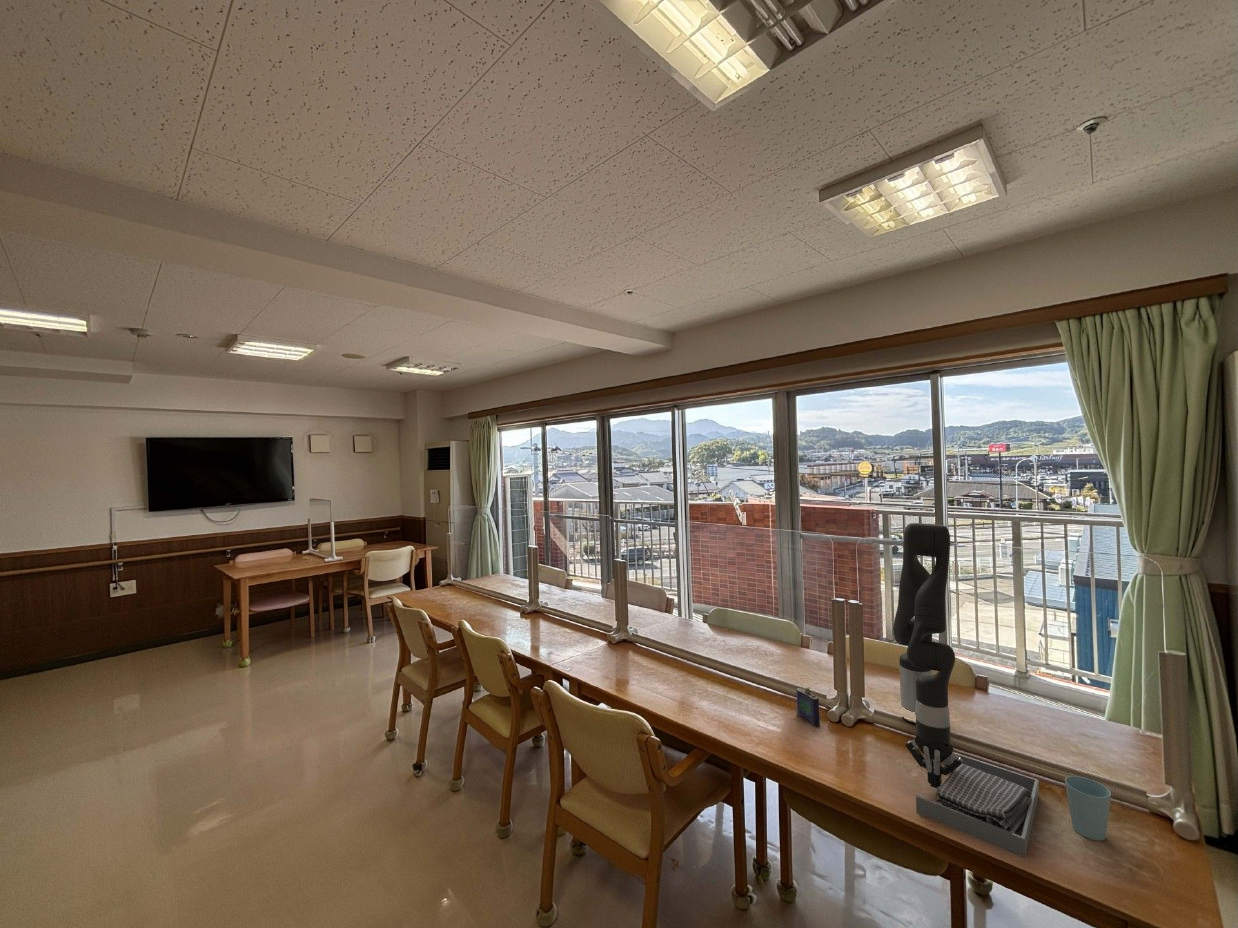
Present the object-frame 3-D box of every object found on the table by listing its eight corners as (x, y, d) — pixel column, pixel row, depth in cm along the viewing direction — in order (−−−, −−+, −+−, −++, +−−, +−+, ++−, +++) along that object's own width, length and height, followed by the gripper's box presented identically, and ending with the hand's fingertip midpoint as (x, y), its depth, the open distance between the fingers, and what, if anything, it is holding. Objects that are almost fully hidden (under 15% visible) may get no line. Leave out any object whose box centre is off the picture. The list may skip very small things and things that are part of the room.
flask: (795, 714, 169) (794, 683, 169) (801, 712, 170) (800, 681, 170) (815, 727, 161) (815, 694, 161) (822, 725, 162) (821, 692, 162)
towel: (1034, 815, 119) (1033, 783, 119) (1010, 854, 108) (1009, 818, 108) (961, 784, 131) (960, 754, 131) (932, 816, 120) (931, 783, 120)
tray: (943, 762, 140) (943, 748, 140) (1038, 795, 126) (1038, 779, 126) (916, 812, 121) (915, 795, 121) (1025, 857, 106) (1024, 839, 106)
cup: (1070, 814, 119) (1069, 771, 119) (1115, 833, 112) (1114, 787, 112) (1062, 829, 114) (1061, 784, 114) (1108, 849, 108) (1107, 802, 108)
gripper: (966, 722, 127) (968, 790, 127) (908, 705, 136) (910, 768, 136) (960, 733, 121) (962, 805, 121) (899, 715, 131) (902, 781, 131)
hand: (934, 785), depth 129 cm, fingers closed
